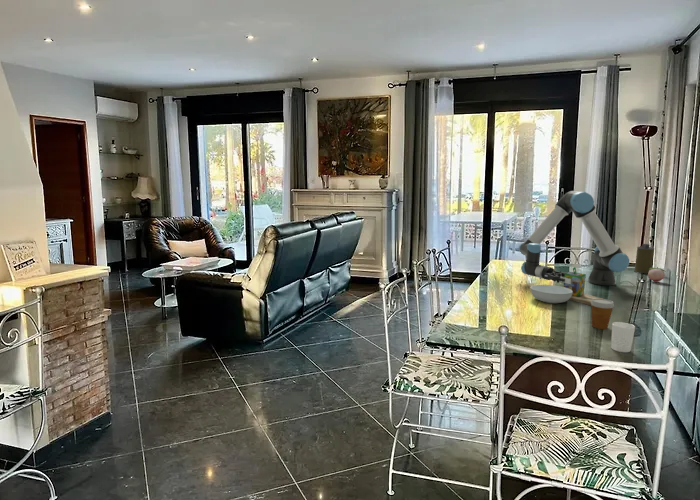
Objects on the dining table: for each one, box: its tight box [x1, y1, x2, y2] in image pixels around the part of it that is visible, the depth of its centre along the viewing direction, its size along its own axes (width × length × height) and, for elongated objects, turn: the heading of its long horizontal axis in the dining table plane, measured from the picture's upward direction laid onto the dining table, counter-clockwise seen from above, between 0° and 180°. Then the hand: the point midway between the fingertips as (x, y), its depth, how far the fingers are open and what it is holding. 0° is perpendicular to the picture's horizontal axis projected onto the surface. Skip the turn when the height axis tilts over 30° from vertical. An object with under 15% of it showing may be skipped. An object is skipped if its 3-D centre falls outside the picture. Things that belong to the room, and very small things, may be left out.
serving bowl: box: [529, 284, 573, 304], centre depth 268 cm, size 21×21×7 cm
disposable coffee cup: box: [590, 298, 615, 330], centre depth 226 cm, size 10×10×12 cm
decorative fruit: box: [647, 266, 666, 283], centre depth 322 cm, size 9×8×10 cm
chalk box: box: [563, 266, 587, 297], centre depth 277 cm, size 9×9×15 cm
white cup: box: [610, 321, 636, 353], centre depth 198 cm, size 8×8×10 cm
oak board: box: [569, 293, 608, 306], centre depth 276 cm, size 14×24×2 cm, turn 29°
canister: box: [633, 243, 655, 274], centre depth 352 cm, size 11×10×20 cm
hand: (577, 280), depth 276 cm, fingers closed on chalk box, 11 cm apart
